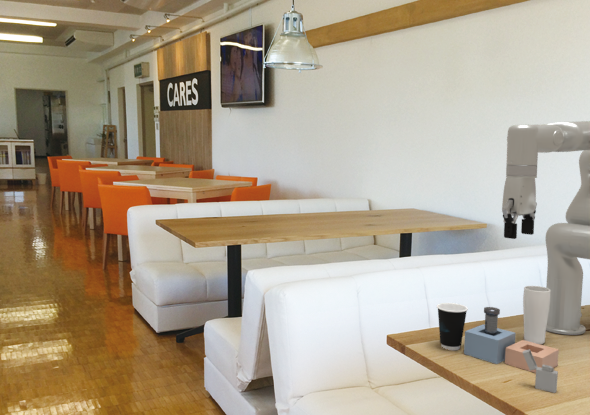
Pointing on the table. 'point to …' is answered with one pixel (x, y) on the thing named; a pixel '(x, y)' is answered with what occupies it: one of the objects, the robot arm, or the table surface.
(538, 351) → the mount block
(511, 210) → the robot arm
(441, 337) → the dixie cup
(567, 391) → the table surface
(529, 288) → the drinking glass
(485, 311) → the lock pin
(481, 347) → the socket block
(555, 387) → the lighter
